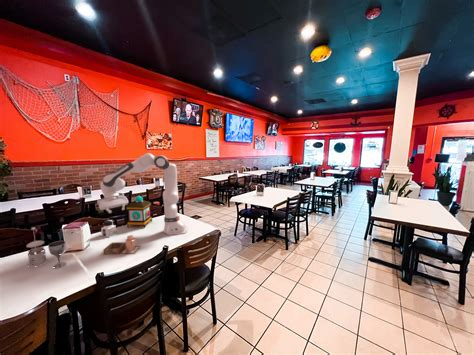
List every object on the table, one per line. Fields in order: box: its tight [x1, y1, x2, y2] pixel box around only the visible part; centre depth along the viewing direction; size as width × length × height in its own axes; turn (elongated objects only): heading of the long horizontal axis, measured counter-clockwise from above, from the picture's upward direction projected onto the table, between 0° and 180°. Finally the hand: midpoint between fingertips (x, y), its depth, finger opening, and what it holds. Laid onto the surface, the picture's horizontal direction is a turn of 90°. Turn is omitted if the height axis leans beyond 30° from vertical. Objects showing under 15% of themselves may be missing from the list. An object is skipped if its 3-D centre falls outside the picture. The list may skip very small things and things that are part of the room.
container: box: [100, 219, 117, 238], centre depth 167 cm, size 8×8×13 cm
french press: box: [26, 227, 49, 268], centre depth 124 cm, size 10×12×25 cm
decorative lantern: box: [126, 195, 153, 229], centre depth 189 cm, size 20×20×30 cm
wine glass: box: [47, 240, 67, 269], centre depth 123 cm, size 8×8×15 cm
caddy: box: [102, 241, 142, 256], centre depth 142 cm, size 22×12×4 cm, turn 94°
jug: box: [125, 234, 136, 252], centre depth 141 cm, size 8×6×10 cm
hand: (117, 211), depth 151 cm, fingers open, 8 cm apart
